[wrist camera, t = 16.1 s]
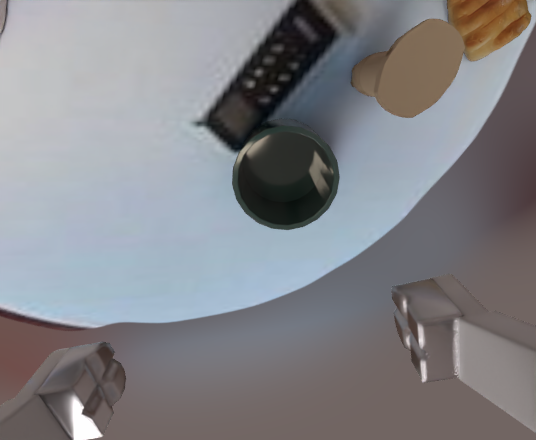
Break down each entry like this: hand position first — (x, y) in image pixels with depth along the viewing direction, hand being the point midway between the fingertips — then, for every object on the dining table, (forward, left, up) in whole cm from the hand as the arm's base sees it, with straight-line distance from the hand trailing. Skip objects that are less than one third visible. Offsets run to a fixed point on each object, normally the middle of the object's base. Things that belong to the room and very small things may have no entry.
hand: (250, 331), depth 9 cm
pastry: (-8, +25, -33) cm, 42 cm away
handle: (-5, +12, -33) cm, 36 cm away
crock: (+3, +2, -33) cm, 33 cm away
